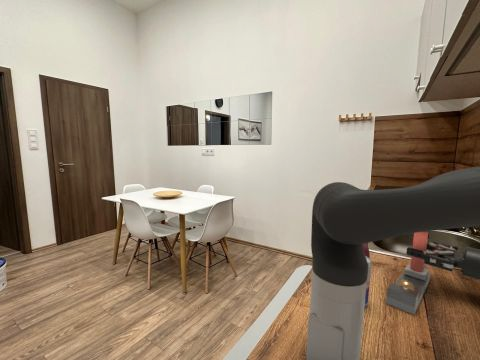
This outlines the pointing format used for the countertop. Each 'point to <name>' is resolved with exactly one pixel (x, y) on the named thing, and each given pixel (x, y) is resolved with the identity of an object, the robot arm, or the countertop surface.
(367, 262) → the energy drink
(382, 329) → the countertop surface
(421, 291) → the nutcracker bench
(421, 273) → the handle
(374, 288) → the countertop surface
